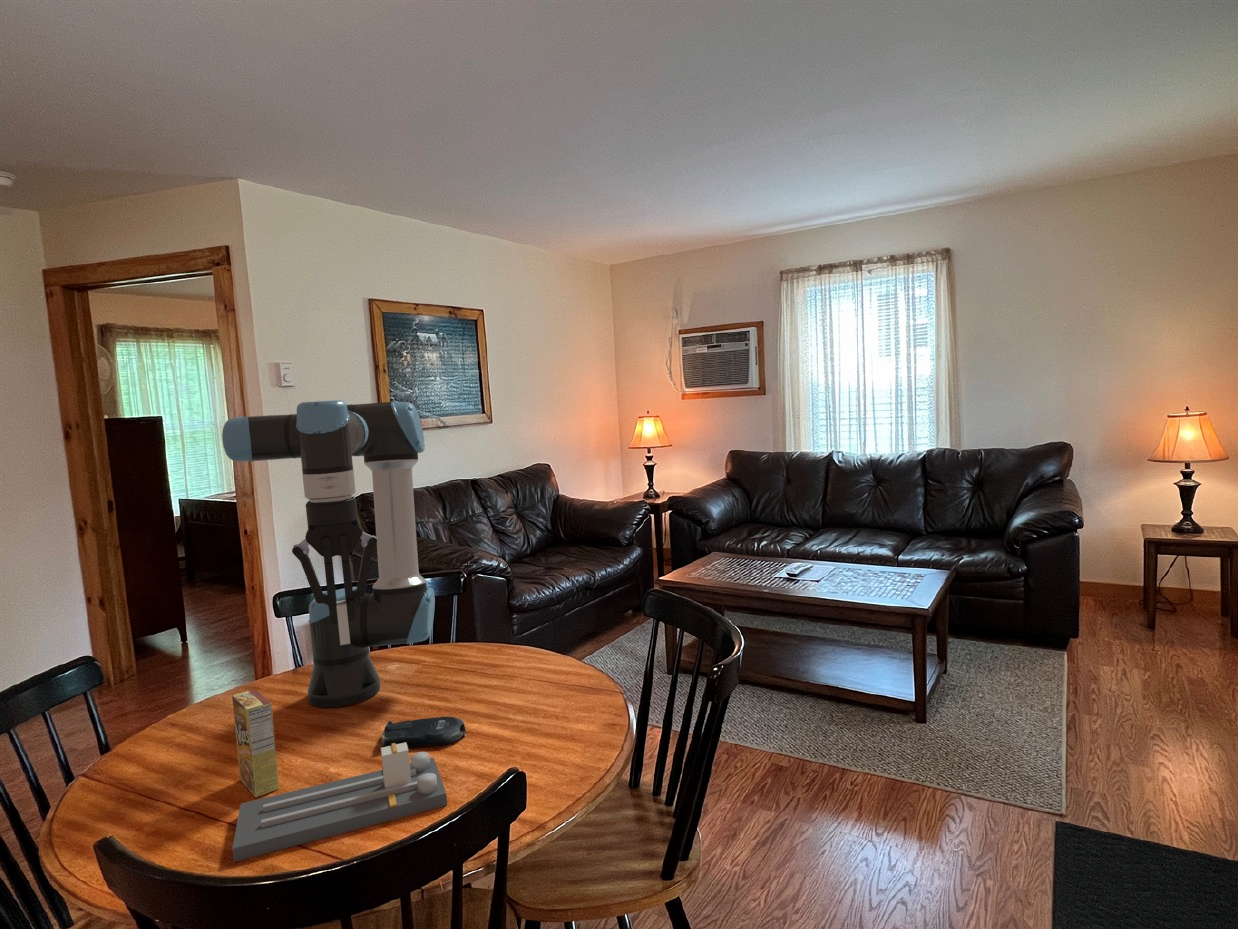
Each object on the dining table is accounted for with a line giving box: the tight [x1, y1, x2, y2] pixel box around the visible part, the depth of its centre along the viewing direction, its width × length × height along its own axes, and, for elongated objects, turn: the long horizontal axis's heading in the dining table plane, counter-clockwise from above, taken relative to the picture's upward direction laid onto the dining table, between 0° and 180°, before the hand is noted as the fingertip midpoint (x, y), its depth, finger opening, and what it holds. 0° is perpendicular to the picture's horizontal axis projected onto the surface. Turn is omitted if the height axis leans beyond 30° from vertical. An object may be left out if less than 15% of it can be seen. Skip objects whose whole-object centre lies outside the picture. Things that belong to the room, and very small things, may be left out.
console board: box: [232, 751, 448, 863], centre depth 114 cm, size 13×30×4 cm, turn 113°
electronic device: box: [381, 716, 467, 748], centre depth 138 cm, size 9×6×15 cm
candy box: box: [231, 688, 280, 799], centre depth 123 cm, size 9×4×15 cm, turn 43°
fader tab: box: [380, 742, 411, 789], centre depth 117 cm, size 3×4×6 cm
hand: (345, 641), depth 117 cm, fingers closed
